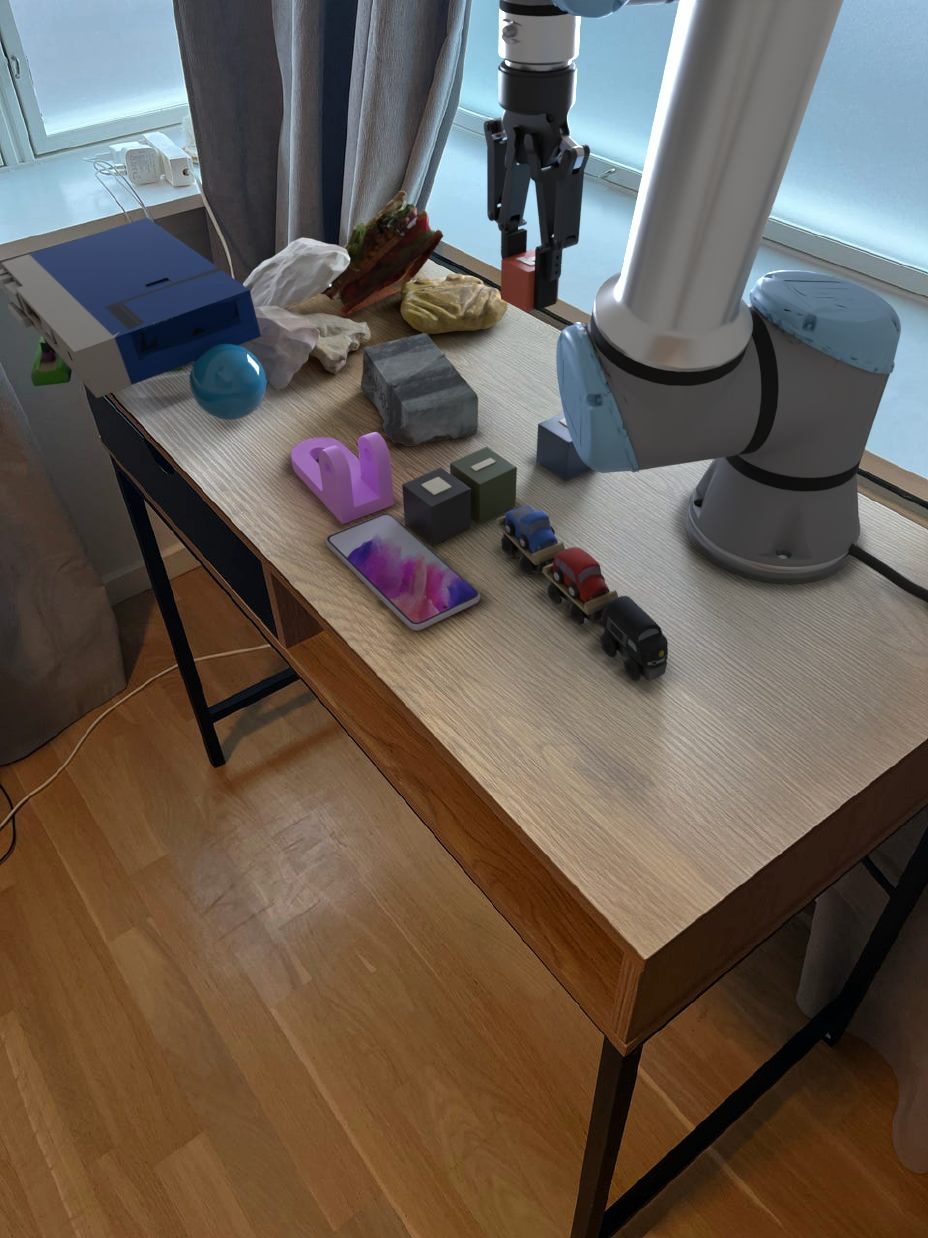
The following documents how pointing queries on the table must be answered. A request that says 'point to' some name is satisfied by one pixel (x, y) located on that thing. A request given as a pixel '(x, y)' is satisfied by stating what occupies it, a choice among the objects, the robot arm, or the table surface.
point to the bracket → (346, 474)
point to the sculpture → (451, 304)
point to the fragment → (296, 273)
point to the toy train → (585, 592)
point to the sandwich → (384, 255)
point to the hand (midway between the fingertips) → (529, 297)
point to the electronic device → (127, 304)
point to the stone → (335, 338)
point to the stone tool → (281, 343)
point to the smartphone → (402, 571)
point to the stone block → (418, 391)
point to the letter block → (519, 280)
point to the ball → (228, 381)
